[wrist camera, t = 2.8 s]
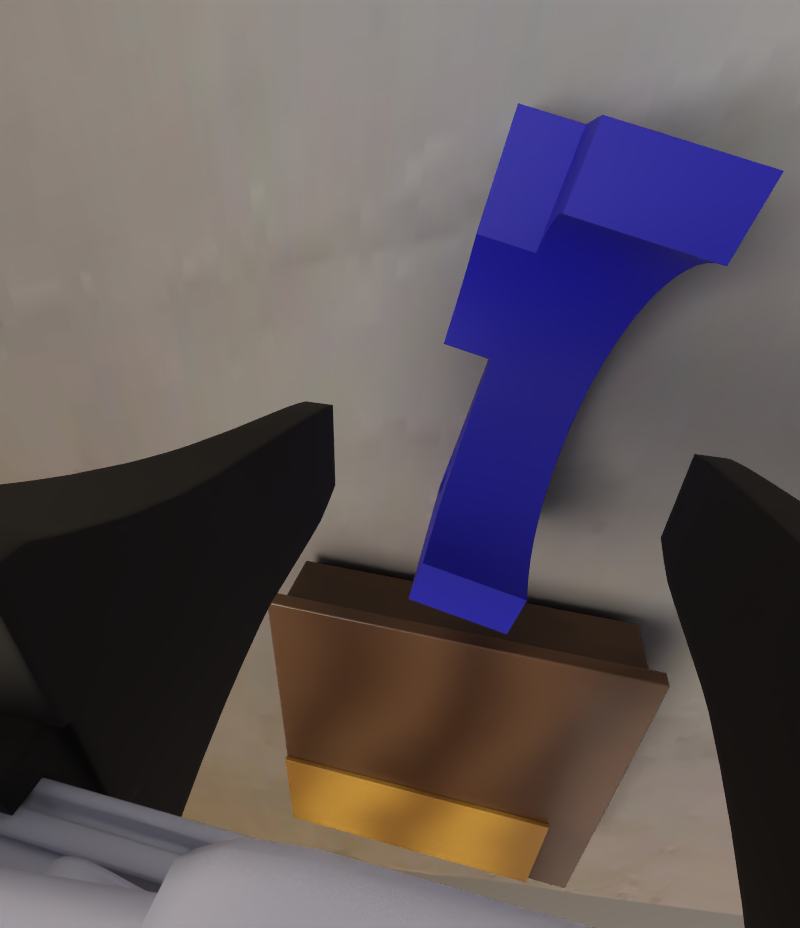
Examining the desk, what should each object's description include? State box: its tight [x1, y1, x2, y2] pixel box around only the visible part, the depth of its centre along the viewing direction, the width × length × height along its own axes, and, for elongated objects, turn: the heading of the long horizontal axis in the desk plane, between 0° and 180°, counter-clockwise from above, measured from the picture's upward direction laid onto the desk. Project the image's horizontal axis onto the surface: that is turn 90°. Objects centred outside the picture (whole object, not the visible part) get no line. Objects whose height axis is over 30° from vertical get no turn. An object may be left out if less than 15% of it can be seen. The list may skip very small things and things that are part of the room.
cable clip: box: [409, 103, 783, 634], centre depth 14 cm, size 12×4×6 cm, turn 164°
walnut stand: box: [268, 561, 669, 888], centre depth 25 cm, size 15×17×4 cm
